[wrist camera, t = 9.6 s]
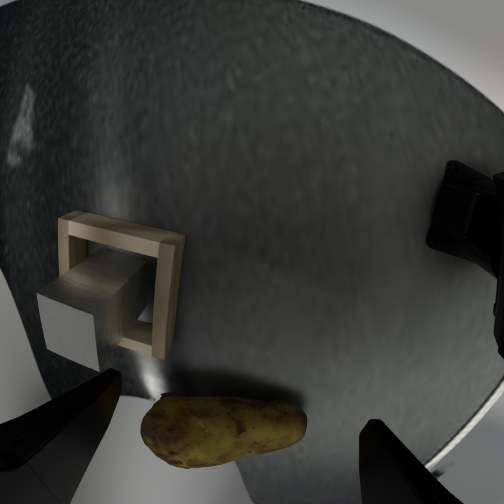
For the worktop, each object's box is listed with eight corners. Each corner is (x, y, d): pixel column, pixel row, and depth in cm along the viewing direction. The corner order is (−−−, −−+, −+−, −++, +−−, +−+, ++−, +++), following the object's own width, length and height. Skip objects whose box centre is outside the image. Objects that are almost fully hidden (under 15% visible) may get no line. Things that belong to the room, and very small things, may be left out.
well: (186, 234, 20) (174, 246, 17) (173, 340, 23) (164, 359, 20) (77, 210, 20) (58, 217, 17) (79, 310, 23) (64, 324, 20)
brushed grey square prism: (149, 259, 21) (93, 315, 13) (146, 306, 22) (99, 371, 14) (102, 247, 21) (36, 293, 13) (102, 293, 22) (47, 348, 14)
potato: (269, 440, 27) (266, 504, 19) (153, 395, 25) (125, 458, 18) (316, 396, 24) (324, 470, 16) (179, 339, 23) (146, 412, 15)
